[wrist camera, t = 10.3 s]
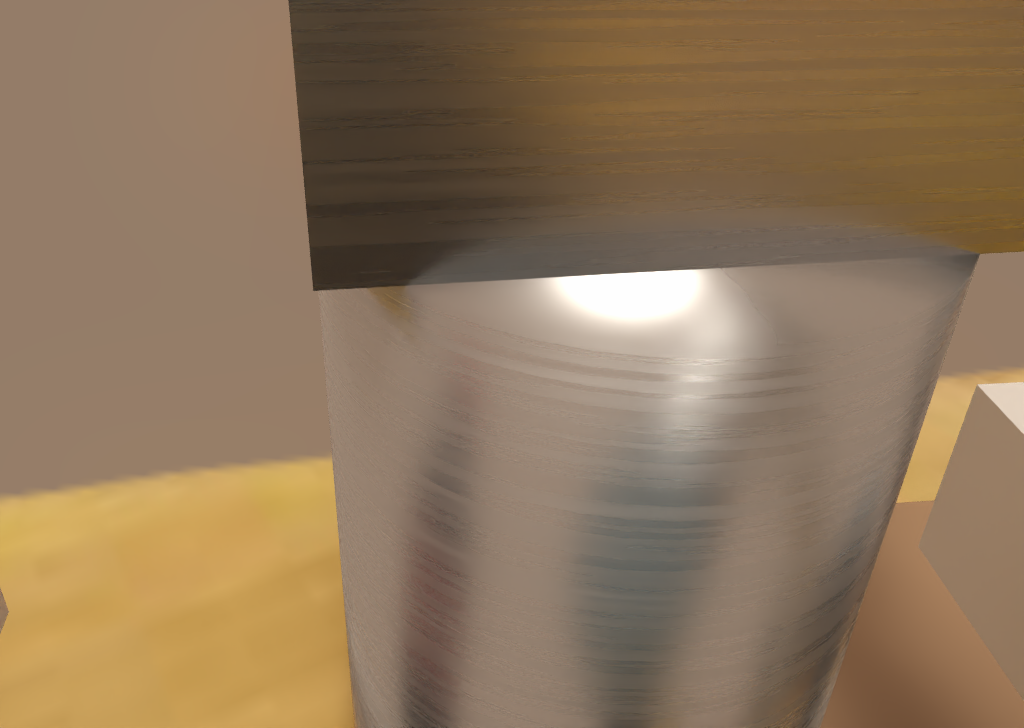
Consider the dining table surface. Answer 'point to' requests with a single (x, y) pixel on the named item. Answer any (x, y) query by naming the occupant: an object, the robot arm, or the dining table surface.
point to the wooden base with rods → (917, 649)
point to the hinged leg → (636, 334)
